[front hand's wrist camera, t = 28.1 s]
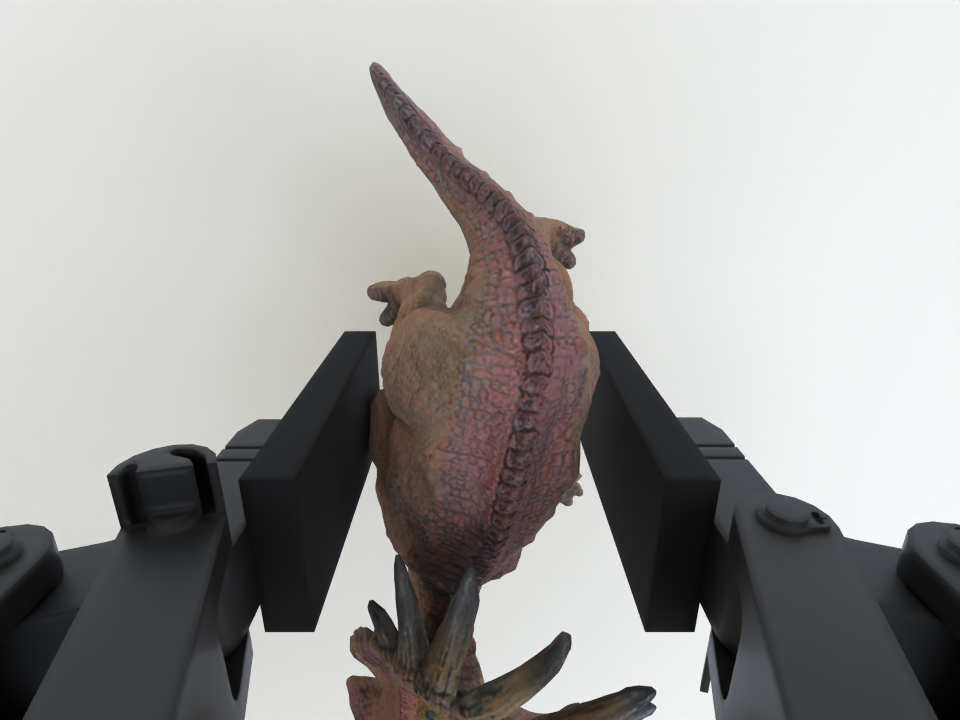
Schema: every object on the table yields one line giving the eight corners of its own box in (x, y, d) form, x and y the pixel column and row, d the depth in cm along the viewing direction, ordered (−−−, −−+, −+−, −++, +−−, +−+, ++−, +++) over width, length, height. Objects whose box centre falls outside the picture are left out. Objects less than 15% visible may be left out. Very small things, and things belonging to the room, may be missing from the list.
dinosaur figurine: (574, 573, 17) (665, 996, 9) (384, 570, 17) (288, 992, 9) (620, 80, 13) (927, -58, 4) (355, 76, 13) (76, -72, 4)
